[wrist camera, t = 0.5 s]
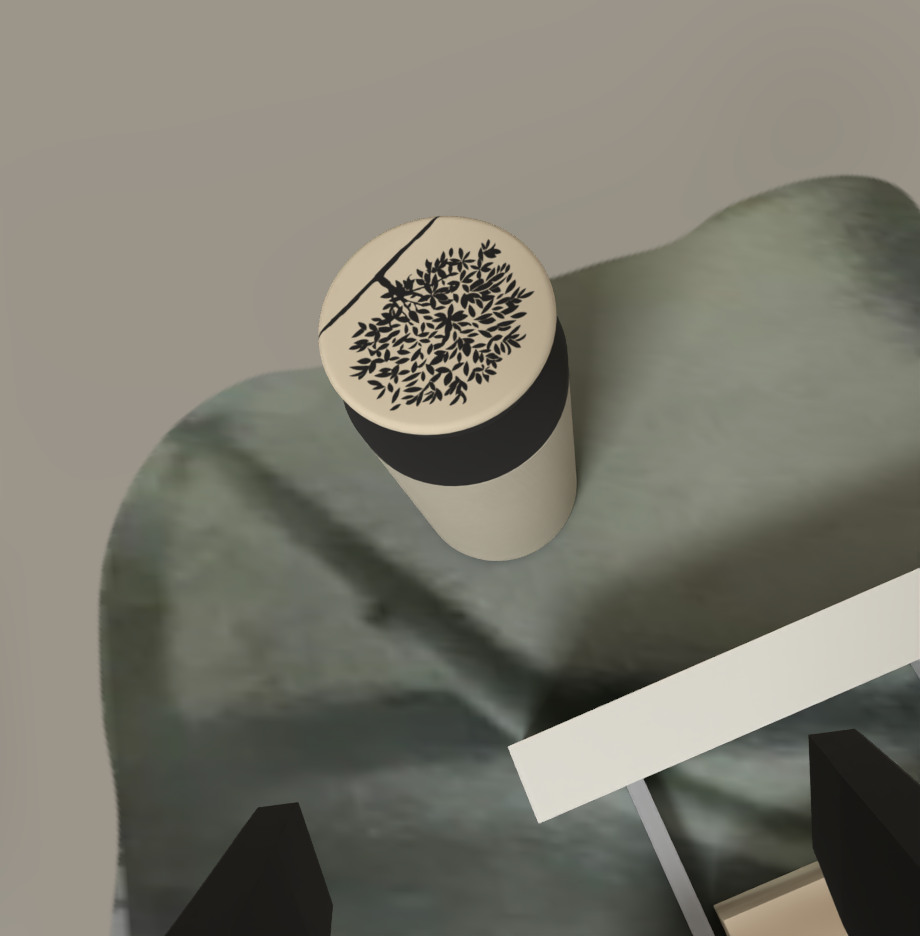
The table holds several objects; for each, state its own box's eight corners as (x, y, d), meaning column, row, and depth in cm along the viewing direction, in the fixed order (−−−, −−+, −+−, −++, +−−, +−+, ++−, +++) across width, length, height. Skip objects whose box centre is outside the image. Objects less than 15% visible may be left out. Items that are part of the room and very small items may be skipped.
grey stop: (1332, 1126, 29) (1509, 1219, 24) (771, 1359, 30) (813, 1506, 24) (959, 554, 37) (1024, 522, 32) (520, 744, 38) (507, 746, 32)
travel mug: (609, 493, 41) (620, 322, 24) (487, 594, 40) (409, 492, 23) (509, 385, 43) (455, 163, 26) (393, 478, 43) (262, 312, 26)
